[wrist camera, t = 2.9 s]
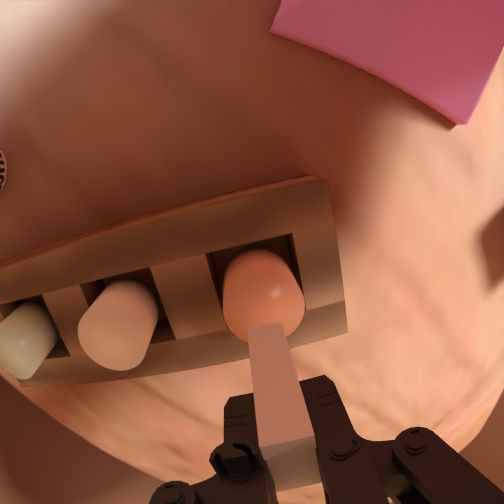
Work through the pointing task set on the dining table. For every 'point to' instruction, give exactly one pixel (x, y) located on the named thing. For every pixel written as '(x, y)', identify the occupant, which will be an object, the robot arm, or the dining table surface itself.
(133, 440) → the dining table surface
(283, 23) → the pink table lamp
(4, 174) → the cup
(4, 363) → the button sage
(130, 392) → the dining table surface
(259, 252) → the button terracotta
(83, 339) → the peach rounded knob
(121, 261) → the brown wooden long block
